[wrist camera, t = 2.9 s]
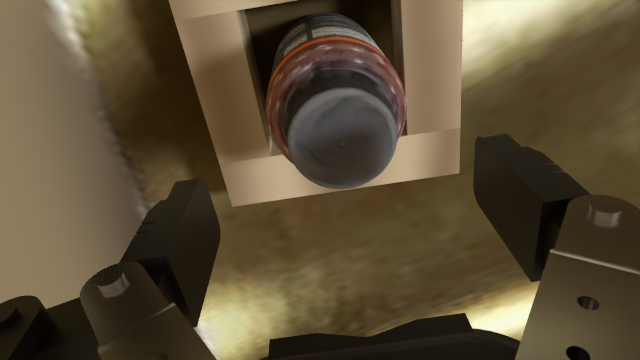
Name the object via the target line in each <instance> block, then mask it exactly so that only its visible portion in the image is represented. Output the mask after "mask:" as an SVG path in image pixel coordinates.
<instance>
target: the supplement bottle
mask: <svg viewBox="0 0 640 360" xmlns="http://www.w3.org/2000/svg"><path fill="white" fill-rule="evenodd" d="M406 112H407V102H406V96H405V91H404V88H403V85H402V82H401V80H400V78H399V76H398V74H397V72H396V70H395V69H394V67H393V66H392V65H391V63H390V62H389V60H388V59H387V58H386V56H385V55H384V54H383V53H382V51H381V50H380V49H379V47H378V46H377V45H376V44H375V42H374V41H373V40H372V38H371V37H370V36H369V34H368V33H367V32H366V31H365V30H364V29H363V28H362V27H361V26H360V25H359V24H358V23H356V22H355V21H354V20H352V19H350V18H348V17H346V16H344V15H340V14H337V13H317V14H312V15H310V16H307V17H305V18H303V19H301V20H299V21H298V22H297V23H295V24H294V25H293V26H292V27H291V28H290V29H289V30H288V31H287V32H286V34H285V35H284V36H283V38H282V39H281V41H280V43H279V45H278V48H277V50H276V54H275V59H274V63H273V68H272V73H271V77H270V82H269V86H268V92H267V97H266V119H267V125H268V129H269V132H270V135H271V137H272V139H273V141H274V143H275V145H276V146H277V148H278V149H279V150H280V152H281V153H282V154H283V155H284V156H285V158H287V159H288V160H289V161H290V162H291V163H292V164H294V165H295V167H296V168H297V170H298V171H299V172H300V173H301V174H302V175H303V176H304V177H305V178H307V179H308V180H310V181H311V182H313V183H315V184H317V185H320V186H323V187H326V188H331V189H348V188H355V187H358V186H361V185H363V184H365V183H368V182H370V181H371V180H372V179H374V178H376V177H377V176H378V175H380V174H381V173H382V172H383V170H385V168H386V167H387V166H388V164H389V163H390V161H391V159H392V157H393V155H394V153H395V150H396V145H397V141H398V139H399V137H400V136H401V133H402V131H403V128H404V125H405V120H406Z"/></svg>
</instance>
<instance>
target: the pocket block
mask: <svg viewBox="0 0 640 360" xmlns="http://www.w3.org/2000/svg"><path fill="white" fill-rule="evenodd" d="M290 1H296V0H169V4H170V7H171V10H172V13H173V16H174V20H175V23H176V26H177V29H178V33H179V36H180V39H181V42H182V45H183V49H184V52H185V55H186V58H187V62H188V65H189V68H190V71H191V74H192V78H193V81H194V84H195V87H196V91H197V94H198V97H199V100H200V103H201V107H202V110H203V113H204V116H205V119H206V123H207V126H208V129H209V132H210V136H211V139H212V142H213V145H214V148H215V152H216V155H217V158H218V161H219V165H220V168H221V171H222V174H223V177H224V181H225V184H226V187H227V190H228V194H229V197H230V200H231V203H232V206H240V205H246V204H253V203H260V202H267V201H274V200H280V199H287V198H294V197H301V196H307V195H314V194H321V193H328V192H335V191H341V190H348V189H355V188H362V187H368V186H375V185H382V184H389V183H396V182H402V181H409V180H416V179H423V178H429V177H436V176H443V175H450V174H456V173H459V164H460V116H461V68H462V20H463V0H390V6H391V22H392V38H393V55H394V69H395V70H396V72H397V74H398V76H399V78H400V80H401V82H402V85H403V88H404V91H405V96H406V102H407V112H406V120H405V125H404V128H403V131H402V133H401V136H400V137H399V139H398V141H397V145H396V150H395V153H394V155H393V157H392V159H391V161H390V163H389V164H388V166H387V167H386V168H385V170H383V172H382V173H381V174H380V175H378V176H377V177H376V178H374V179H372V180H371V181H370V182H368V183H365V184H363V185H361V186H358V187H355V188H348V189H331V188H326V187H323V186H320V185H317V184H315V183H313V182H311V181H310V180H308V179H307V178H305V177H304V176H303V175H302V174H301V173H300V172H299V171H298V170H297V168H296V167H295V165H294V164H292V163H291V162H290V161H289V160H288V159H287V158H285V156H284V155H283V154H282V153H281V152H280V150H279V149H278V148H277V146H276V145H275V143H274V141H273V139H272V137H271V135H270V132H269V129H268V125H267V119H266V102H265V97H264V93H263V89H262V84H261V80H260V75H259V71H258V67H257V62H256V58H255V53H254V49H253V45H252V40H251V36H250V31H249V27H248V23H247V18H246V14H245V9H249V8H255V7H260V6H266V5H272V4H278V3H284V2H290Z"/></svg>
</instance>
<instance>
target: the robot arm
mask: <svg viewBox="0 0 640 360" xmlns="http://www.w3.org/2000/svg"><path fill="white" fill-rule="evenodd" d="M473 187H474V194H475V198H476V201H477V203H478V205H479V206H480V208H481V209H482V211H483V212H484V214H485V215H486V217H487V218H488V219H489V221H490V222H491V224H492V225H493V227H494V228H495V230H496V231H497V233H498V234H499V236H500V237H501V238H502V240H503V241H504V243H505V244H506V246H507V247H508V249H509V250H510V252H511V253H512V255H513V256H514V257H515V259H516V260H517V262H518V263H519V265H520V266H521V268H522V269H523V271H524V272H525V274H526V275H527V276H528V278H529V279H530V281H531V282H535V281H540V283H539V286H538V289H537V293H536V296H535V299H534V302H533V305H532V308H531V311H530V314H529V317H528V320H527V323H526V327H525V330H524V333H523V336H522V339H521V342H520V341H518V340H516V339H513V338H511V337H508V336H505V335H502V334H499V333H495V332H492V331H486V330H481V329H473V328H472V327H471V325H470V323H469V321H468V318H467V316H466V314H465V313H461V314H454V315H447V316H439V317H432V318H425V319H417V320H414V321H411V322H409V323H406V324H403V325H401V326H398V327H395V328H393V329H390V330H387V331H385V332H382V333H379V334H376V335H374V336H370V337H357V336H346V335H334V334H322V333H314V334H307V335H300V336H292V337H285V338H278V339H270V344H269V356H267V357H264V358H262V359H260V360H640V209H638V208H637V207H636V206H634V205H633V204H631V203H629V202H627V201H625V200H622V199H619V198H616V197H611V196H606V195H591V194H590V193H589V192H588V191H587V190H586V189H584V188H583V187H582V186H581V185H580V184H579V183H577V182H576V181H575V180H574V179H573V178H572V177H570V176H569V175H568V174H567V173H566V172H565V173H564V172H563V170H562V169H561V168H560V167H559V166H558V165H555V164H554V162H553V161H552V160H551V159H550V158H548V157H547V156H546V155H545V154H544V153H541V152H539V151H537V150H534V149H532V148H529V147H527V146H526V147H521V146H520V145H519V144H518V143H517V142H516V141H515V140H513V139H512V138H511V137H510V136H509V135H508V134H507V133H500V134H493V135H486V136H480V137H478V138H477V139H476V142H475V158H474V181H473ZM219 243H220V226H219V221H218V218H217V215H216V212H215V209H214V206H213V203H212V200H211V197H210V194H209V191H208V188H207V185H206V183H205V181H204V180H203V179H202V178H198V179H191V180H185V181H178V182H176V183H175V184H174V186H173V188H172V190H171V192H170V194H169V196H168V198H167V199H166V200H161V201H160V202H159V203H157V204H156V205H155V206H154V207H153V208H152V209H151V210H149V211H148V213H147V215H146V216H145V218H144V220H143V222H142V225H140V227H139V229H138V231H137V235H135V236H134V238H133V239H132V241H131V243H130V245H129V247H128V248H127V250H126V252H125V254H124V255H123V257H122V259H121V261H120V262H119V263H117V264H114V265H111V266H109V267H107V268H104V269H103V270H101V271H99V272H98V273H96V274H95V275H93V276H92V277H91V278H90V279H89V280H88V281H87V282H86V283H85V284H84V286H83V287H82V289H81V291H80V297H79V298H77V299H74V300H71V301H68V302H65V303H62V304H60V305H57V306H54V307H52V308H48V309H45V307H44V306H43V304H42V303H41V301H40V300H39V299H38V298H37V297H35V296H20V297H16V298H13V299H10V300H8V301H6V302H3V303H1V304H0V360H216V358H215V357H214V356H213V354H212V353H211V351H210V350H209V349H208V347H207V346H206V345H205V343H204V342H203V341H202V339H201V338H200V337H199V335H198V334H197V333H196V331H195V330H194V329H193V327H197V325H198V321H199V317H200V313H201V310H202V306H203V302H204V298H205V295H206V291H207V287H208V284H209V280H210V276H211V272H212V269H213V265H214V261H215V257H216V254H217V250H218V246H219Z"/></svg>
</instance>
